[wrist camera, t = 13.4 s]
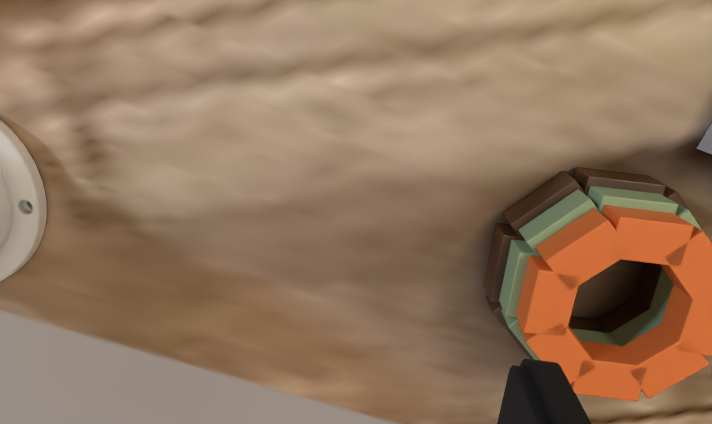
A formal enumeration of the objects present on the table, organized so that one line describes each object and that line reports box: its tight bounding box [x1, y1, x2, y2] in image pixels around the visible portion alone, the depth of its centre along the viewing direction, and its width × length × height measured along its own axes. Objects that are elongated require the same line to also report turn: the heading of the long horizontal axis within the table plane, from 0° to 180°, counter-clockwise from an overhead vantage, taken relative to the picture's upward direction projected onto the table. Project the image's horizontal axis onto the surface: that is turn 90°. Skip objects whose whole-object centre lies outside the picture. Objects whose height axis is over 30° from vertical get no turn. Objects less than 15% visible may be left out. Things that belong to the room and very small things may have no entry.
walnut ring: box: [484, 167, 689, 360], centre depth 34 cm, size 12×12×2 cm
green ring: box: [499, 186, 703, 361], centre depth 32 cm, size 11×11×2 cm
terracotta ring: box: [516, 205, 712, 401], centre depth 30 cm, size 10×10×2 cm
